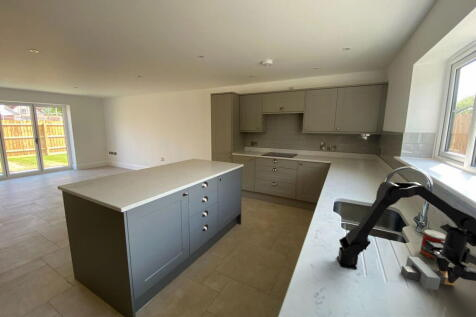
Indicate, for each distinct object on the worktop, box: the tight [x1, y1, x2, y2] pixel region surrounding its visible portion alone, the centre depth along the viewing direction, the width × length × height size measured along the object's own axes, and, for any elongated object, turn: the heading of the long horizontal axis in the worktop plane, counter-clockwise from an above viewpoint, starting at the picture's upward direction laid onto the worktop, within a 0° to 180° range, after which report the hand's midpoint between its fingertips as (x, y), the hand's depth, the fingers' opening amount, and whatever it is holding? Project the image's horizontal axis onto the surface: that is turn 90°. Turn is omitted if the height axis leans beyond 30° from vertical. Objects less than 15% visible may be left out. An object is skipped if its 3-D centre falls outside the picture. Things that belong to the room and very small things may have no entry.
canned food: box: [420, 229, 446, 260], centre depth 93 cm, size 8×8×11 cm
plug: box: [400, 265, 456, 286], centre depth 79 cm, size 16×4×3 cm, turn 78°
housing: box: [405, 255, 441, 291], centre depth 80 cm, size 4×12×5 cm, turn 168°
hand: (446, 279), depth 78 cm, fingers closed on plug, 3 cm apart
